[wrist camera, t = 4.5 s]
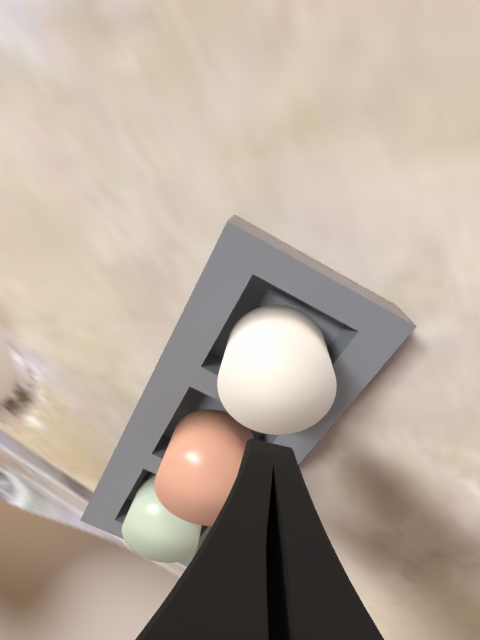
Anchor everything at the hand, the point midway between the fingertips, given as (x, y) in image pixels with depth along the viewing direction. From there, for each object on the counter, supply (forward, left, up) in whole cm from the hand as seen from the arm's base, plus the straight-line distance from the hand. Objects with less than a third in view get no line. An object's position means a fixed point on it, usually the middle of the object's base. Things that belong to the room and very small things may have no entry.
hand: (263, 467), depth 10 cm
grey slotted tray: (0, +6, -8) cm, 10 cm away
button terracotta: (0, +6, -6) cm, 8 cm away
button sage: (0, +12, -7) cm, 14 cm away
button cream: (0, -1, -6) cm, 6 cm away
